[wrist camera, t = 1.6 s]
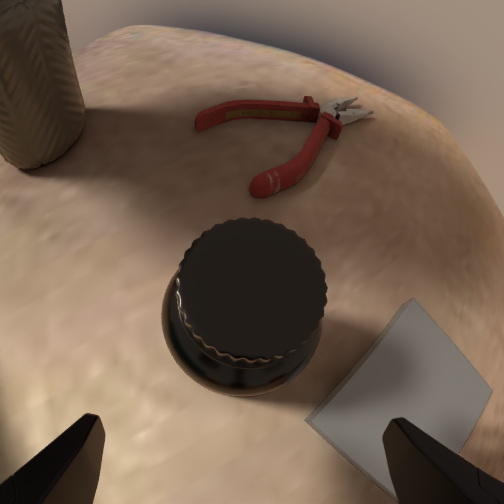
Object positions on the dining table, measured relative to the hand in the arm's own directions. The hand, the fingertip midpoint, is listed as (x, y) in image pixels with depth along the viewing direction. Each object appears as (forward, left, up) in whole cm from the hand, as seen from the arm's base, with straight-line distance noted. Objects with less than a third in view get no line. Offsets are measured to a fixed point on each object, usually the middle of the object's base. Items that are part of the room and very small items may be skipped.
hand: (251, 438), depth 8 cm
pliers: (+13, -22, -12) cm, 28 cm away
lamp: (+31, -1, -12) cm, 34 cm away
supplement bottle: (+3, -3, -12) cm, 13 cm away
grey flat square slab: (-10, -9, -11) cm, 18 cm away
